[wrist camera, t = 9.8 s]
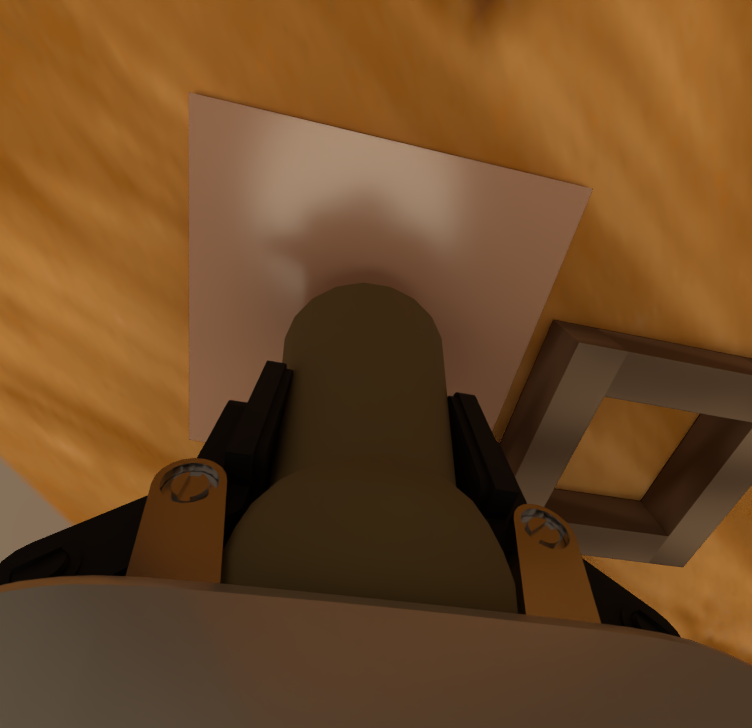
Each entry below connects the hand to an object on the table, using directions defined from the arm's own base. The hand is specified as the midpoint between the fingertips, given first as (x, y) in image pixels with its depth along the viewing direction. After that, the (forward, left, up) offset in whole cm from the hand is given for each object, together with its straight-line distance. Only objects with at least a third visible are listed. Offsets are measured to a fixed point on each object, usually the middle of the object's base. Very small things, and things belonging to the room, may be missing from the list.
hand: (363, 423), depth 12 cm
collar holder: (-4, -15, -8) cm, 17 cm away
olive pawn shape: (0, 0, -4) cm, 4 cm away
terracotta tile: (0, 0, -7) cm, 7 cm away
